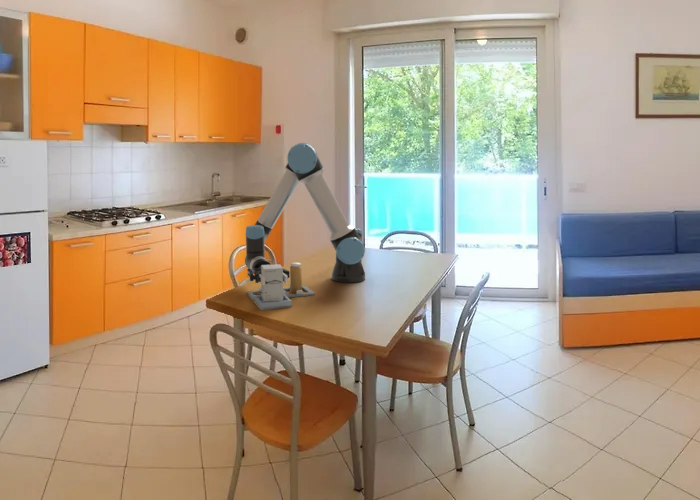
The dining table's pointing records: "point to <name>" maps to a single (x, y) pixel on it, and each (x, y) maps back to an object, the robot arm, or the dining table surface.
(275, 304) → the tray
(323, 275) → the dining table surface
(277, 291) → the supplement box
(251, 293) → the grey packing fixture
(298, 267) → the amber bottle
